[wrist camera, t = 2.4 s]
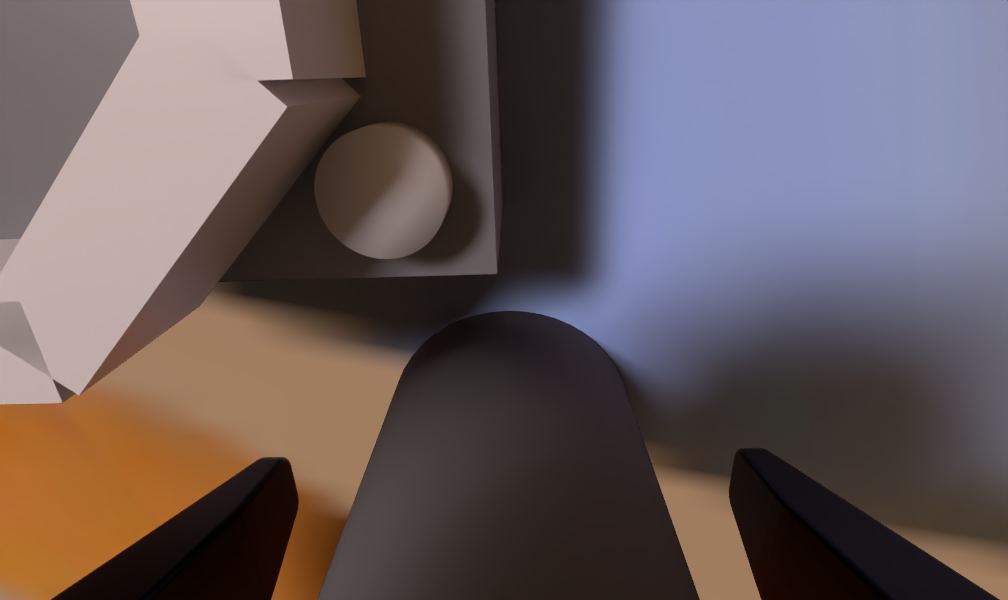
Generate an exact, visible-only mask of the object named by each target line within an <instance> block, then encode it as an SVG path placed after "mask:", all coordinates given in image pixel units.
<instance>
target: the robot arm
mask: <svg viewBox="0 0 1008 600" xmlns="http://www.w3.org/2000/svg"><path fill="white" fill-rule="evenodd" d="M729 499H730V504H731V507H732V510H733V513H734V517H735V520H736V523H737V526H738V529H739V532H740V535H741V538H742V542H743V545H744V548H745V551H746V554H747V557H748V560H749V563H750V567H751V570H752V573H753V576H754V579H755V582H756V585H757V588H758V591H759V594H760V597H761V599H762V600H999V599H997V598H996V597H995V596H993V595H991V594H990V593H988V592H987V591H985V590H983V589H982V588H980V587H979V586H977V585H976V584H974V583H973V582H971V581H970V580H968V579H967V578H965V577H963V576H962V575H960V574H959V573H957V572H956V571H954V570H953V569H951V568H949V567H948V566H946V565H945V564H943V563H942V562H940V561H939V560H937V559H936V558H934V557H932V556H931V555H929V554H928V553H926V552H925V551H923V550H922V549H920V548H918V547H917V546H915V545H914V544H912V543H911V542H909V541H908V540H906V539H904V538H903V537H901V536H900V535H898V534H897V533H895V532H894V531H892V530H891V529H889V528H887V527H886V526H884V525H883V524H881V523H880V522H878V521H877V520H875V519H873V518H872V517H870V516H869V515H867V514H866V513H864V512H863V511H861V510H859V509H858V508H856V507H855V506H853V505H852V504H850V503H849V502H847V501H845V500H844V499H842V498H841V497H839V496H838V495H836V494H835V493H833V492H831V491H830V490H828V489H827V488H825V487H824V486H822V485H821V484H819V483H818V482H816V481H814V480H813V479H811V478H810V477H808V476H807V475H805V474H804V473H802V472H800V471H799V470H797V469H796V468H794V467H793V466H791V465H790V464H788V463H786V462H785V461H783V460H782V459H780V458H779V457H777V456H776V455H774V454H772V453H771V452H769V451H768V450H766V449H763V448H744V449H739V450H738V451H737V452H736V453H735V456H734V462H733V468H732V474H731V480H730V486H729ZM298 503H299V499H298V493H297V488H296V484H295V480H294V476H293V472H292V468H291V464H290V462H289V460H288V459H287V458H285V457H265V458H261V459H259V460H257V461H256V462H254V463H253V464H251V465H250V466H248V467H247V468H245V469H244V470H242V471H241V472H239V473H238V474H236V475H235V476H233V477H232V478H230V479H229V480H227V481H226V482H224V483H223V484H221V485H220V486H218V487H217V488H216V489H214V490H213V491H211V492H210V493H208V494H207V495H205V496H204V497H202V498H201V499H199V500H198V501H196V502H195V503H193V504H192V505H190V506H189V507H187V508H186V509H184V510H183V511H181V512H180V513H178V514H177V515H176V516H174V517H173V518H171V519H170V520H168V521H167V522H165V523H164V524H162V525H161V526H159V527H158V528H156V529H155V530H153V531H152V532H150V533H149V534H147V535H146V536H144V537H143V538H141V539H140V540H138V541H137V542H135V543H134V544H132V545H131V546H130V547H128V548H127V549H125V550H124V551H122V552H121V553H119V554H118V555H116V556H115V557H113V558H112V559H110V560H109V561H107V562H106V563H104V564H103V565H101V566H100V567H98V568H97V569H95V570H94V571H92V572H91V573H89V574H88V575H86V576H85V577H83V578H82V579H81V580H79V581H78V582H76V583H75V584H73V585H72V586H70V587H69V588H67V589H66V590H64V591H63V592H61V593H60V594H58V595H57V596H55V597H54V598H52V599H51V600H271V598H272V595H273V592H274V589H275V585H276V582H277V579H278V575H279V572H280V568H281V565H282V562H283V558H284V555H285V552H286V548H287V545H288V541H289V538H290V535H291V531H292V528H293V525H294V521H295V518H296V514H297V511H298Z"/></svg>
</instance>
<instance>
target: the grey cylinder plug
mask: <svg viewBox="0 0 1008 600" xmlns="http://www.w3.org/2000/svg"><path fill="white" fill-rule="evenodd" d="M317 600H700V599H699V597H698V594H697V591H696V588H695V585H694V582H693V580H692V577H691V574H690V571H689V568H688V565H687V563H686V560H685V557H684V554H683V551H682V548H681V546H680V543H679V540H678V537H677V534H676V531H675V528H674V526H673V523H672V520H671V517H670V514H669V512H668V509H667V506H666V503H665V500H664V497H663V494H662V492H661V489H660V486H659V483H658V480H657V477H656V475H655V472H654V469H653V466H652V463H651V460H650V457H649V455H648V452H647V449H646V446H645V443H644V440H643V438H642V435H641V432H640V429H639V426H638V423H637V421H636V418H635V415H634V412H633V409H632V406H631V404H630V401H629V398H628V395H627V392H626V389H625V387H624V384H623V381H622V378H621V376H620V374H619V372H618V370H617V368H616V366H615V364H614V363H613V361H612V360H611V359H610V357H609V356H608V355H607V353H606V352H605V351H604V350H603V349H602V348H601V347H600V346H599V345H598V344H597V343H596V342H595V341H594V340H592V339H591V338H590V337H589V336H587V335H586V334H585V333H583V332H582V331H580V330H578V329H576V328H575V327H573V326H571V325H569V324H567V323H565V322H562V321H560V320H557V319H555V318H551V317H548V316H544V315H541V314H535V313H529V312H519V311H502V312H490V313H485V314H481V315H476V316H472V317H469V318H466V319H463V320H460V321H458V322H456V323H454V324H452V325H450V326H448V327H446V328H444V329H442V330H441V331H439V332H438V333H436V334H435V335H433V336H432V337H431V338H430V339H428V340H427V341H426V342H425V343H424V344H423V345H422V346H421V347H420V348H419V349H418V350H417V351H416V352H415V354H414V355H413V356H412V357H411V359H410V360H409V362H408V364H407V365H406V367H405V368H404V370H403V373H402V375H401V377H400V380H399V382H398V385H397V387H396V390H395V393H394V395H393V398H392V401H391V403H390V406H389V409H388V411H387V414H386V417H385V419H384V422H383V425H382V428H381V430H380V433H379V436H378V438H377V441H376V444H375V446H374V449H373V452H372V454H371V457H370V460H369V462H368V465H367V468H366V470H365V473H364V476H363V478H362V481H361V484H360V486H359V489H358V492H357V494H356V497H355V500H354V502H353V505H352V508H351V510H350V513H349V516H348V518H347V521H346V524H345V527H344V529H343V532H342V535H341V537H340V540H339V543H338V545H337V548H336V551H335V553H334V556H333V559H332V561H331V564H330V567H329V569H328V572H327V575H326V577H325V580H324V583H323V585H322V588H321V591H320V593H319V596H318V599H317Z"/></svg>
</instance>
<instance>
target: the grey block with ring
mask: <svg viewBox="0 0 1008 600" xmlns="http://www.w3.org/2000/svg"><path fill="white" fill-rule="evenodd" d="M502 211H503V205H502V178H501V152H500V126H499V99H498V73H497V46H496V20H495V0H0V404H34V403H63V402H64V401H66V400H67V399H69V398H70V397H71V396H73V395H74V394H75V393H76V394H78V395H80V394H82V393H83V392H84V391H86V390H87V389H88V388H90V387H91V386H92V385H94V384H95V383H97V382H98V381H99V380H101V379H102V378H103V377H105V376H106V375H107V374H109V373H110V372H111V371H113V370H114V369H115V368H117V367H118V366H119V365H121V364H122V363H124V362H125V361H126V360H127V359H129V358H130V357H132V356H133V355H134V354H135V353H137V352H138V351H140V350H141V349H142V348H144V347H145V346H146V345H148V344H149V343H150V342H152V341H153V340H155V339H156V338H157V337H159V336H160V335H161V334H163V333H164V332H165V331H167V330H168V329H169V328H171V327H172V326H174V325H175V324H176V323H178V322H179V321H180V320H182V319H183V318H184V317H186V316H187V315H188V314H190V313H191V312H192V311H194V310H195V309H196V308H198V307H199V306H200V305H201V304H202V302H203V301H204V300H205V299H206V297H207V296H208V295H209V293H210V292H211V291H212V289H213V288H214V287H215V286H216V284H217V283H218V282H229V281H264V280H300V279H335V278H371V277H406V276H442V275H477V274H497V269H498V258H499V246H500V234H501V223H502Z"/></svg>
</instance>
